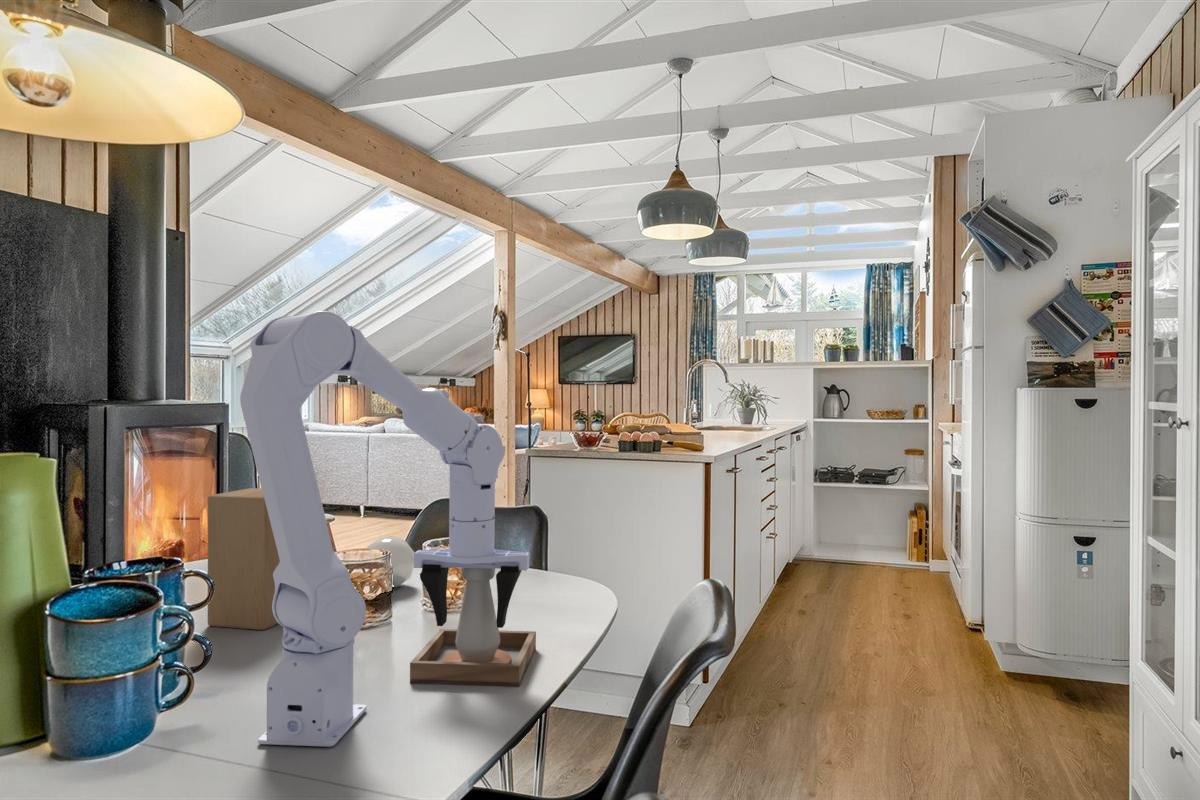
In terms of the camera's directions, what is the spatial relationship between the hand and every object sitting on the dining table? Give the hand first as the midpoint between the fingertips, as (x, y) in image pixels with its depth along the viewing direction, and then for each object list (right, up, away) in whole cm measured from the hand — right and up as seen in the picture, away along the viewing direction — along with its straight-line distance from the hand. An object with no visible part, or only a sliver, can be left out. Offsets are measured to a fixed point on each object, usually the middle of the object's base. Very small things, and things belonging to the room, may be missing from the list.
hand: (471, 624), depth 97 cm
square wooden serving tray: (0, -6, +3) cm, 7 cm away
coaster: (0, -6, +3) cm, 7 cm away
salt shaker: (0, -6, +3) cm, 6 cm away
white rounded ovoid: (-22, -6, +40) cm, 46 cm away
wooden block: (-38, -6, +23) cm, 44 cm away
